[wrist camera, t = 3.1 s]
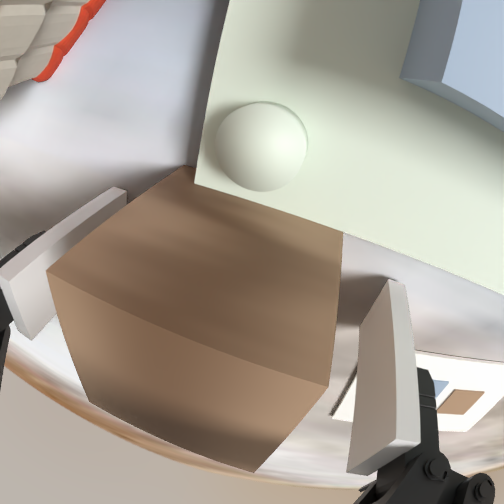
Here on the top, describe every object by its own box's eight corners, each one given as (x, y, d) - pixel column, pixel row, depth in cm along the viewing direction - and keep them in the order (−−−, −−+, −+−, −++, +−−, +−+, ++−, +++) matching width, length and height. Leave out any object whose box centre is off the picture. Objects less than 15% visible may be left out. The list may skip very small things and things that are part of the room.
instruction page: (332, 415, 17) (331, 419, 17) (372, 342, 13) (372, 347, 13) (466, 429, 15) (466, 432, 15) (527, 364, 12) (528, 368, 11)
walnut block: (172, 285, 15) (89, 401, 9) (184, 164, 11) (45, 270, 6) (294, 329, 14) (253, 472, 9) (343, 214, 11) (328, 386, 5)
